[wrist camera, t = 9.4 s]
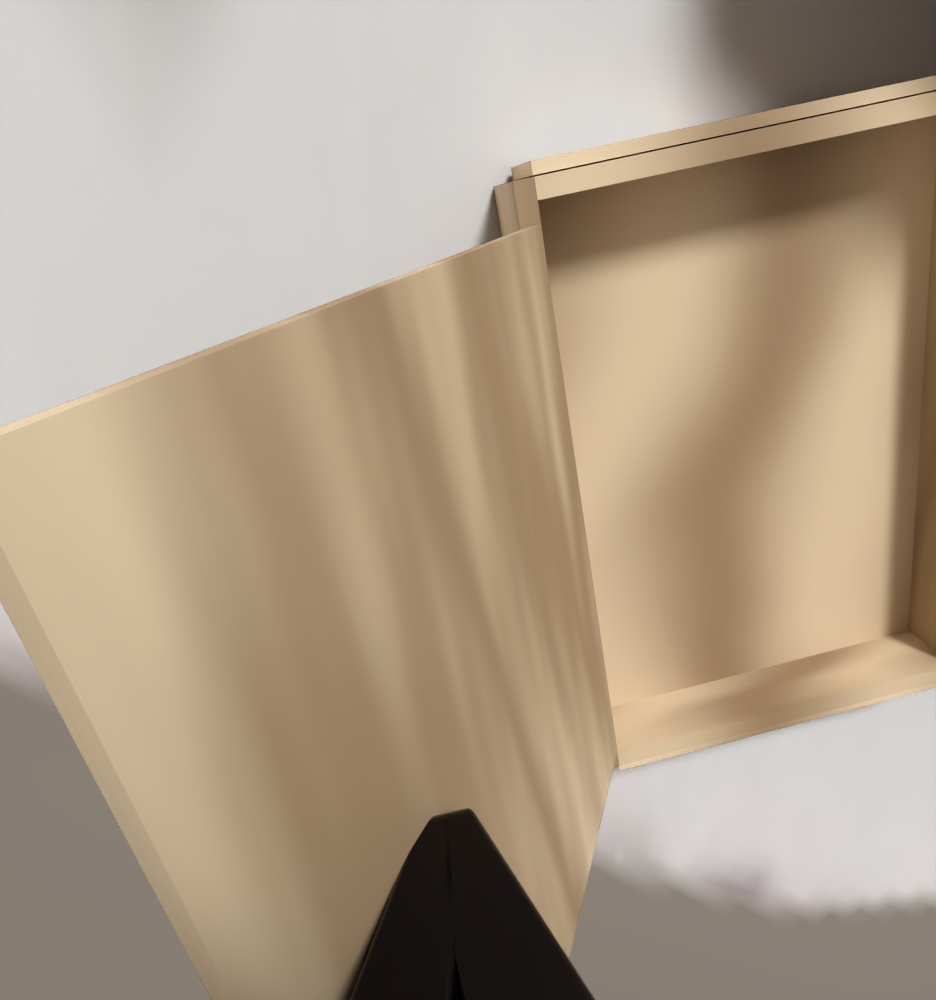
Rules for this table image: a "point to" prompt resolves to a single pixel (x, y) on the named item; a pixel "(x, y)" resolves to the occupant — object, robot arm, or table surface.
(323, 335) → the flap
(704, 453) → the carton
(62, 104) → the table surface
